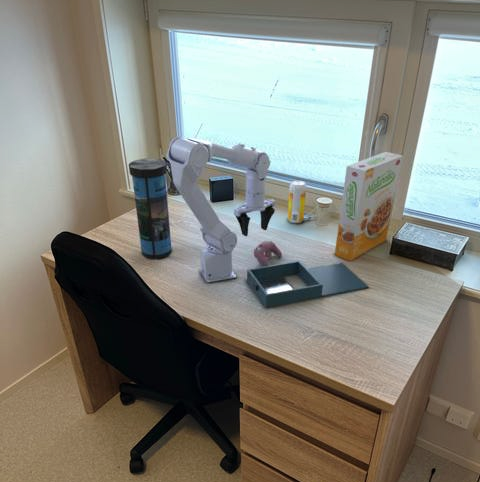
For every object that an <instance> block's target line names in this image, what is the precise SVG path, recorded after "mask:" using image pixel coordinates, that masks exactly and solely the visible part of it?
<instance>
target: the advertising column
mask: <svg viewBox="0 0 480 482" xmlns="http://www.w3.org/2000/svg"><path fill="white" fill-rule="evenodd" d="M167 166H168V165H167V162H166V161H165V160H163V159H160V158H139V159H135V160H133V161H130V162H129V164H128V171H129V175H130V176H131V179H132V186H133V194H134V195H133V196H134V203H135V209H136V210H135V211H136V218H137V226H138V233H139V243H140V251H141V256H142V257H144V258H145V259H149V260H161V259H165V258H167V257H169V256H170V255H171V254H172V249H173V248H172V239H171V238H172V237H171V227H170V226H171V225H170V214H169V202H168V188H167V179H166V174H167V172H168V168H167Z"/></svg>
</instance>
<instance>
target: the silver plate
mask: <svg viewBox="0 0 480 482" xmlns="http://www.w3.org/2000/svg"><path fill="white" fill-rule="evenodd" d="M258 282H259V283H260V284H261V286H262V287H263V288H264V290H265V291H266V292H267V294H270V293H275V292H281V291H286V290H291V289H293V288H292V287H291V285H290V284H289V283H288V281H287V280H286V279H285V278H284V276H281V277H275V278H270V279H264V280H258Z"/></svg>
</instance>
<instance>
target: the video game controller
mask: <svg viewBox="0 0 480 482" xmlns="http://www.w3.org/2000/svg"><path fill="white" fill-rule="evenodd" d="M273 254H274V255H275V256H276V257H278V258H281V257H282V256H283V254H282V251H281V250H280V248H279V247H277V245H276V244H275V243H274V242H273V241H272V240H265V241H262V242H261V243H259V244H258V245H257V246H256V248H254V249H253V256H254V258H255V259H256V260H257V261H258V263H259V264H260V265H261V266H262V267H264V266H269V262H268V259H269V258H271V257H272V255H273Z"/></svg>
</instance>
